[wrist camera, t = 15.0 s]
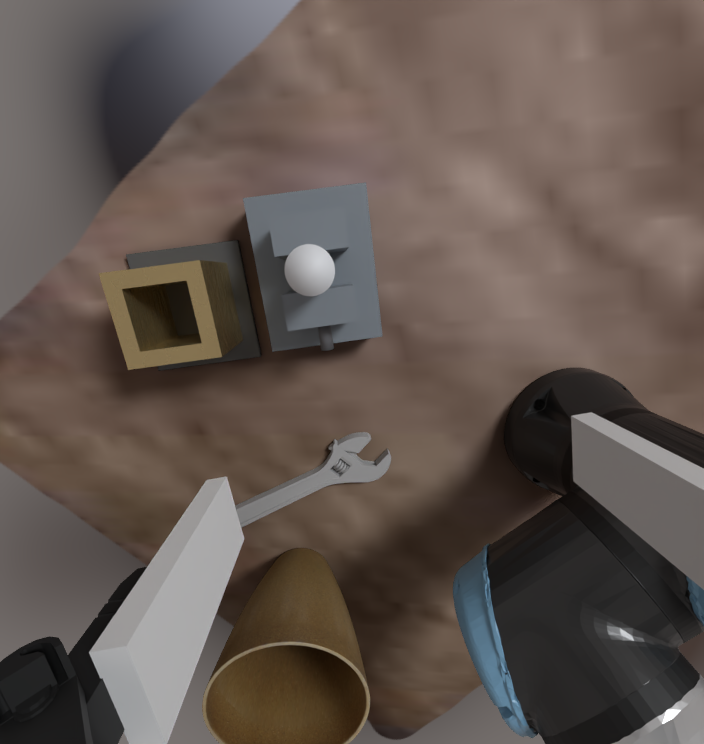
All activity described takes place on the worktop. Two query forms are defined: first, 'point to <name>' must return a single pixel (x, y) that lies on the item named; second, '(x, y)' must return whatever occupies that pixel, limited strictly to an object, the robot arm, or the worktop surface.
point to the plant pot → (290, 662)
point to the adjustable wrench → (319, 477)
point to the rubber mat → (182, 299)
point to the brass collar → (154, 316)
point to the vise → (315, 266)
